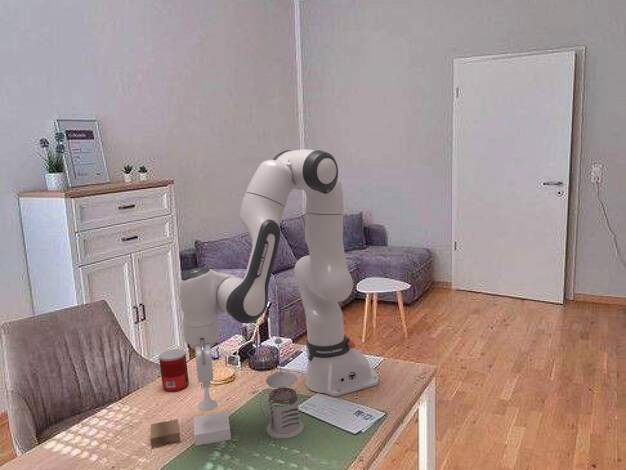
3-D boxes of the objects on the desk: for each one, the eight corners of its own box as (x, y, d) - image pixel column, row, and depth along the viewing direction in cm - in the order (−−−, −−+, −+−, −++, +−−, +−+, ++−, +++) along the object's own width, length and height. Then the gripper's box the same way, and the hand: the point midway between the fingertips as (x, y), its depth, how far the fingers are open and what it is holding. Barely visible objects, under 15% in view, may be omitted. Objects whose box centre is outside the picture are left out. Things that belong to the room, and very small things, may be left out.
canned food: (192, 386, 165) (188, 354, 163) (167, 395, 161) (163, 361, 159) (183, 378, 171) (180, 346, 169) (159, 386, 167) (155, 353, 165)
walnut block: (178, 429, 142) (177, 418, 142) (180, 443, 136) (179, 432, 135) (152, 434, 140) (150, 424, 140) (152, 449, 134) (150, 438, 133)
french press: (311, 427, 138) (305, 337, 134) (276, 446, 131) (268, 351, 126) (288, 413, 146) (281, 328, 141) (253, 431, 138) (245, 341, 133)
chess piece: (213, 411, 134) (210, 375, 132) (195, 411, 135) (192, 374, 133) (219, 402, 139) (217, 366, 137) (202, 401, 140) (199, 366, 138)
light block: (228, 421, 144) (227, 411, 143) (231, 439, 135) (230, 428, 134) (194, 427, 142) (193, 417, 141) (195, 446, 133) (194, 435, 133)
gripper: (216, 345, 124) (221, 400, 126) (212, 317, 143) (216, 365, 146) (188, 349, 122) (194, 404, 125) (188, 320, 142) (193, 368, 145)
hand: (206, 382), depth 136 cm, fingers closed on chess piece
